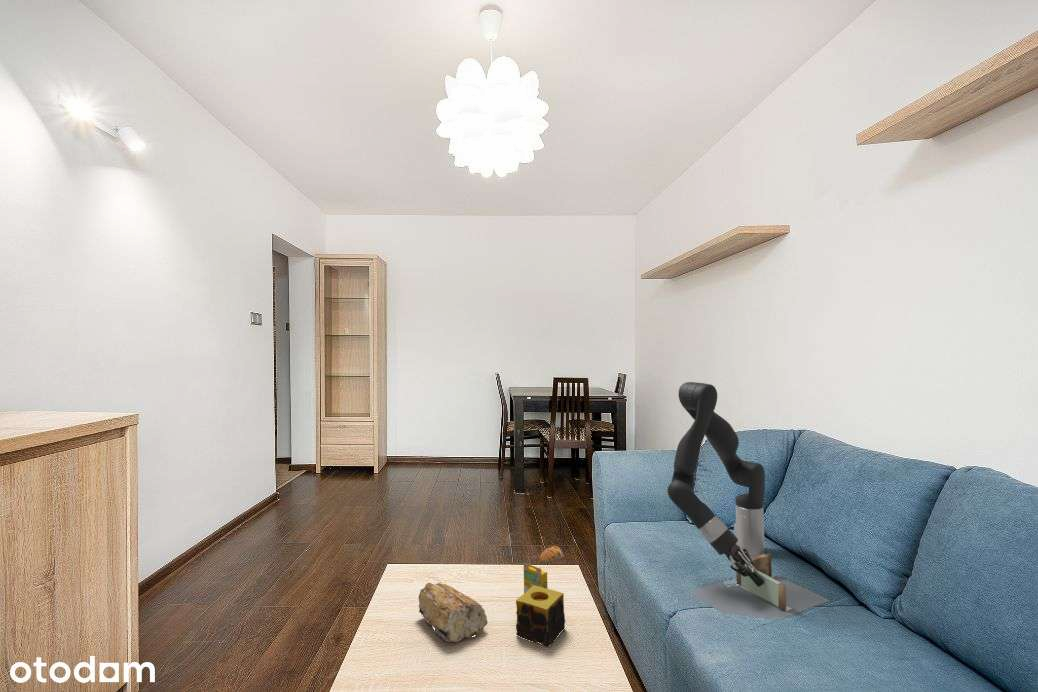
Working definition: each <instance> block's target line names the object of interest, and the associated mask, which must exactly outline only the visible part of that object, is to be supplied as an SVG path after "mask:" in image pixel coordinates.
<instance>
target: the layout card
mask: <svg viewBox="0 0 1038 692" xmlns="http://www.w3.org/2000/svg"><path fill="white" fill-rule="evenodd" d="M774 575H775V574H774ZM774 575H772V577H771V578H773V579H775V580H777V581H778V582H780V583H782V584H785V585H786V610H782V609H780V608H779V607H777V606H776V605H774V604H772V603H771V602H769V601H767V600H765V599H764V598H762V597H760V596H759V595H757V594H755V593H754V592H752V591H750V590H749V589H747V588H745V587H744V586H742V585H738V586H735V585H736V584H737V583H736V584H734V583H733V584H734V585H732V584H727V585H732V586H730V587H727V585H725V584H724V583H723V581H720V582H717V583H714V584H709V585H706V586H703V587H700V588H696V589H693V590H690V591H688V593H689V594H690V595H692V596H693V597H695V598H697V599H699V600H700V601H701V602H703V603H705V604H707V605H708V606H710V607H711V608H713V609H714V610H716V611H718V612H720V613H721V614H723V615H725V616H726V614H729V615H732V614H735V615H742V616H743V617H744V616H747V615H751V616H750V617H752V618H761V617H765V618H764V619H774V618H776V617H777V618H776V619H778V618H782V619H784V618H783V617H785V618H787V617H789V616H793V615H796V614H797V613H801V612H803V611H805V610H808V609H811V608H814V607H817V606H820V605H822V604H825V603H829V602H830V601H831V600H830V599H828V598H826V597H824V596H822V595H819V594H817V593H816V592H813V591H810V590H809V589H806V588H804V587H802V586H800V585H798V584H796V583H793V582H791V581H790V580H787V579H785V578H783V577H781V576H778V575H776V576H774ZM730 583H731V582H730ZM753 616H754V617H753ZM744 618H745V619H746V618H747V617H744ZM776 619H775V620H776ZM776 621H777V620H776Z"/></svg>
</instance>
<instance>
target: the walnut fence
mask: <svg viewBox="0 0 1038 692" xmlns="http://www.w3.org/2000/svg"><path fill="white" fill-rule="evenodd" d="M751 559H752V561H753V562H754V564H755V566H754V568H755V569H756V570H758V571H760V572H762V573H763V574H765V575H767V576H769V577H772V574H773V572H772V568H773V567H772V554H771V553H768V552H766V553H765V552H764V554H763V555H759V556H756V557H751Z"/></svg>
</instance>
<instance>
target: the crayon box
mask: <svg viewBox="0 0 1038 692" xmlns="http://www.w3.org/2000/svg"><path fill="white" fill-rule="evenodd" d="M533 585H535V586H539V587H543V588H546V589H549V588H548V572H547V571H545V570H542V568H539V567H537V566H534V565H531V564H529V563H526V562H523V594H524V593H525V592H526V591H528V590H529V589H530V588H531V587H532V586H533Z"/></svg>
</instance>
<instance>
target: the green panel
mask: <svg viewBox="0 0 1038 692" xmlns="http://www.w3.org/2000/svg"><path fill="white" fill-rule="evenodd" d="M755 571H756V572H757V573H758V574H759V575H760V576H761V578H762V579H763V580H764V584H763V585H761V586H760V587H758V586H757V585H756V584H755V583H754V582H753V581H752V579H751V578H750V577H749V576H746V577H744V576H742V575H741V574H739V573H738V572H736V571H735V572H736V573H735V575H736V577H735V578H736V581H737V584H739V585H742V586H744V587H745V588H747V589H749V590H750V591H752V592H754V593H755V594H757V595H759V596H760V597H762V598H764V599H765V600H767V601H769V602H771V603H772V604H774V605H776V606H777V607H779V608H780V609H782V610H786V585H785V584H782V583H780V582H778V581H777V580H775V579H773V578H771V577H769V576H767V575H765V574H763V573H762V572H760V571H758V570H756V569H755Z"/></svg>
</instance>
